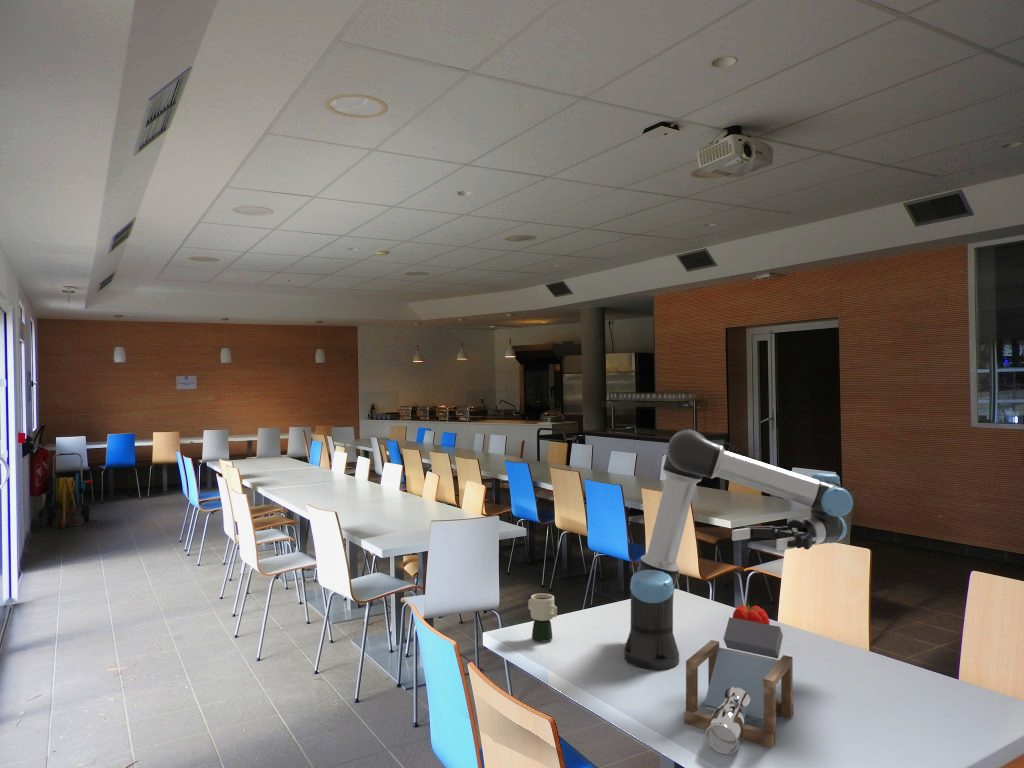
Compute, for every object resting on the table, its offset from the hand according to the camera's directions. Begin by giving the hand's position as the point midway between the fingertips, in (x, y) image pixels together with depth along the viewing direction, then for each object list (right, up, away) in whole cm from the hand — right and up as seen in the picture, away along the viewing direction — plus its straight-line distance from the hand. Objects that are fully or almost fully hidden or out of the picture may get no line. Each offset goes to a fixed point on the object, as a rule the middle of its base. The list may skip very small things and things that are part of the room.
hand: (754, 540), depth 177 cm
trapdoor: (-7, -28, -16) cm, 33 cm away
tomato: (+12, -38, +36) cm, 53 cm away
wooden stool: (-11, -36, -21) cm, 43 cm away
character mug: (-54, -37, +30) cm, 71 cm away
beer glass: (-12, -30, -24) cm, 40 cm away
